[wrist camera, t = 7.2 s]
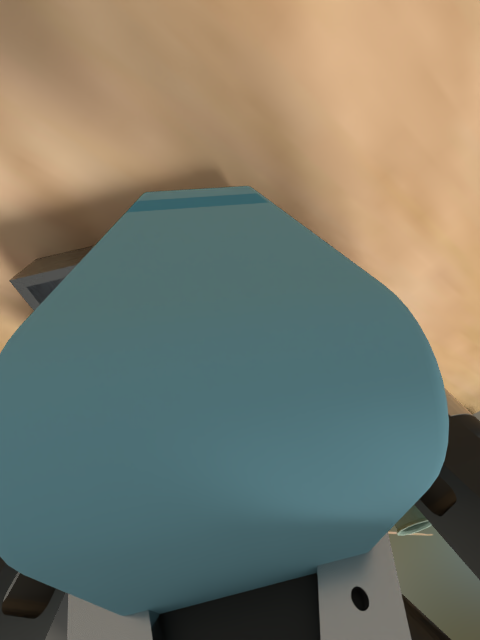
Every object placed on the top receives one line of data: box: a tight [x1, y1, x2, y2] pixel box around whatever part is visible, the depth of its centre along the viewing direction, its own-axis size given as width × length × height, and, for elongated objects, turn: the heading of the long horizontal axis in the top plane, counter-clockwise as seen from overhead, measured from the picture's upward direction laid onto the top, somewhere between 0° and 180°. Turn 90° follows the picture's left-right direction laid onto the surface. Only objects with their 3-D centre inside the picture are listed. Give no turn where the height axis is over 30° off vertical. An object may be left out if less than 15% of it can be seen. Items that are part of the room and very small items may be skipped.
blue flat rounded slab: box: [0, 186, 449, 616], centre depth 10 cm, size 12×4×12 cm, turn 2°
